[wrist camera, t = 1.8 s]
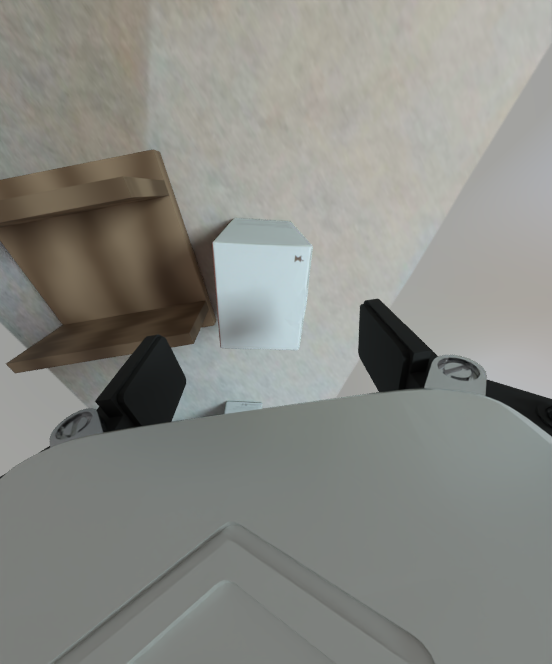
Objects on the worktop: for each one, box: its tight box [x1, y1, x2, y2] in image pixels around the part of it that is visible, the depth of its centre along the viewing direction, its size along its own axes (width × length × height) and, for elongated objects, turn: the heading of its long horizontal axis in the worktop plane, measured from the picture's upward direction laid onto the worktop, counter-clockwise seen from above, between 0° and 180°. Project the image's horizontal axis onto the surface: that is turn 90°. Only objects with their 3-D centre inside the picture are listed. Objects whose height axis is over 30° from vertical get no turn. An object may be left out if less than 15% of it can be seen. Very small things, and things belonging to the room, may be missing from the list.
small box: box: [212, 218, 313, 350], centre depth 21 cm, size 8×6×13 cm
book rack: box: [0, 150, 216, 373], centre depth 23 cm, size 18×18×9 cm
